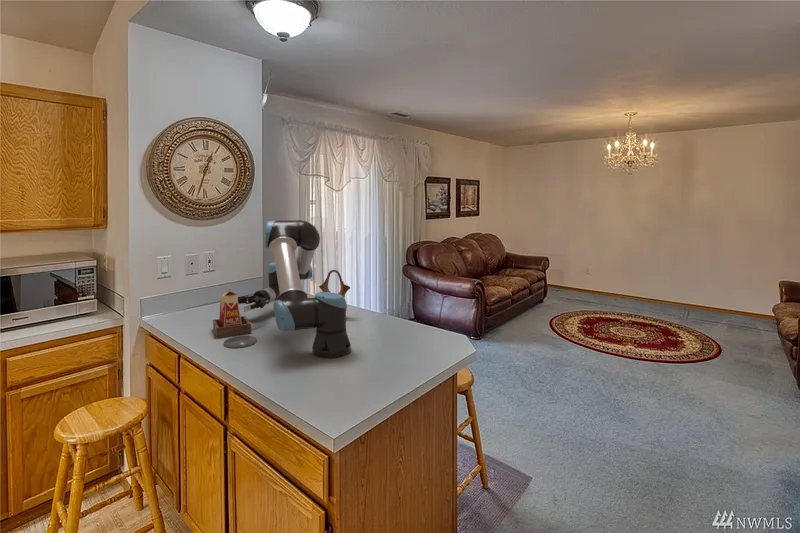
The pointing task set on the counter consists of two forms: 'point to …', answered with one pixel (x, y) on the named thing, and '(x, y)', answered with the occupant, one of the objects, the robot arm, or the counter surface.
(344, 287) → the brown handbag
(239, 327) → the walnut cradle
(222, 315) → the milk carton
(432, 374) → the counter surface
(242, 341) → the slate coaster
